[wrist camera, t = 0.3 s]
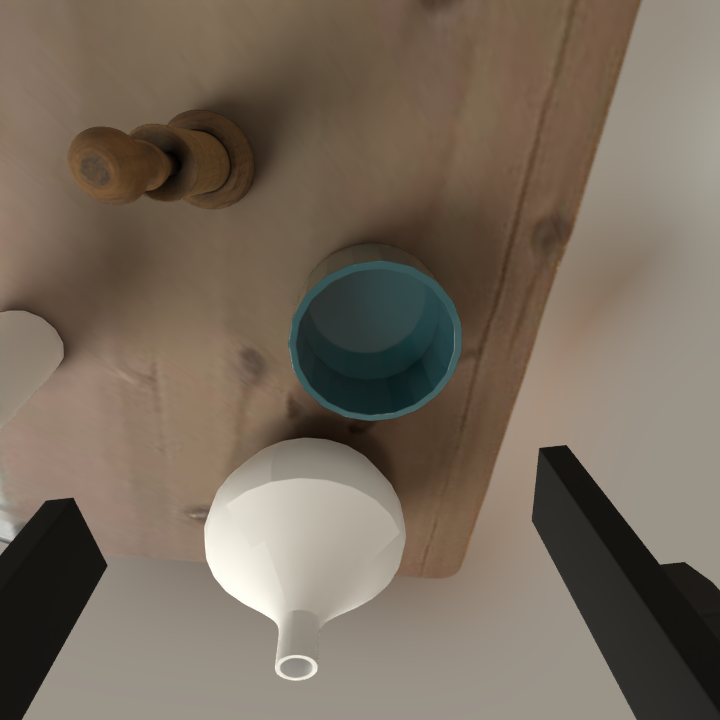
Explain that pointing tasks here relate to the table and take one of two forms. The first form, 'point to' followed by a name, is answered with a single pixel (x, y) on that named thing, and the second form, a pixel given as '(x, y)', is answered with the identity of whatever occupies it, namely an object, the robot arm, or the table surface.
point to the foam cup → (25, 359)
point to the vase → (304, 540)
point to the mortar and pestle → (165, 162)
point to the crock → (374, 333)
